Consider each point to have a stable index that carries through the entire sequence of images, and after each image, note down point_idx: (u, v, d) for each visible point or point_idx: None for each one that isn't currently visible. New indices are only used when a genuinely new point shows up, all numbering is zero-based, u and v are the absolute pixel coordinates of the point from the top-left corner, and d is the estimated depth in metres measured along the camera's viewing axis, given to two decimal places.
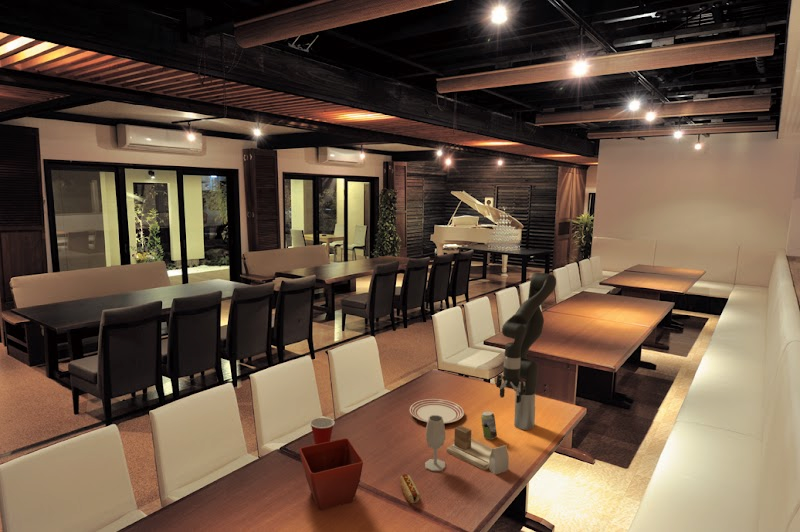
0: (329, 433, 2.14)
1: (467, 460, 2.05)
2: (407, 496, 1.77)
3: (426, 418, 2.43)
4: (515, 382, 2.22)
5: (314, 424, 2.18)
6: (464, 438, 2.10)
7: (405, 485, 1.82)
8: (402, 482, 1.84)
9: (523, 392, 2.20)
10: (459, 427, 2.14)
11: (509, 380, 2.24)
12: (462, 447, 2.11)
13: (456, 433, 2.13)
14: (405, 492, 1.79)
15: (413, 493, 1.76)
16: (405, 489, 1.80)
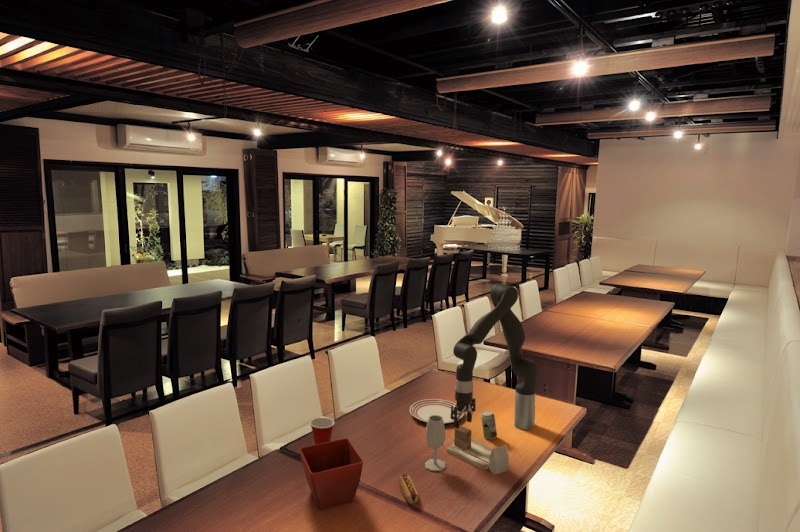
0: (329, 433, 2.14)
1: (467, 460, 2.05)
2: (406, 496, 1.77)
3: (426, 418, 2.43)
4: (469, 402, 2.12)
5: (314, 424, 2.18)
6: (464, 438, 2.10)
7: (404, 485, 1.82)
8: (401, 482, 1.84)
9: (473, 408, 2.16)
10: (459, 427, 2.14)
11: (465, 404, 2.10)
12: (462, 447, 2.11)
13: (456, 433, 2.13)
14: (404, 492, 1.79)
15: (412, 493, 1.76)
16: (404, 489, 1.80)
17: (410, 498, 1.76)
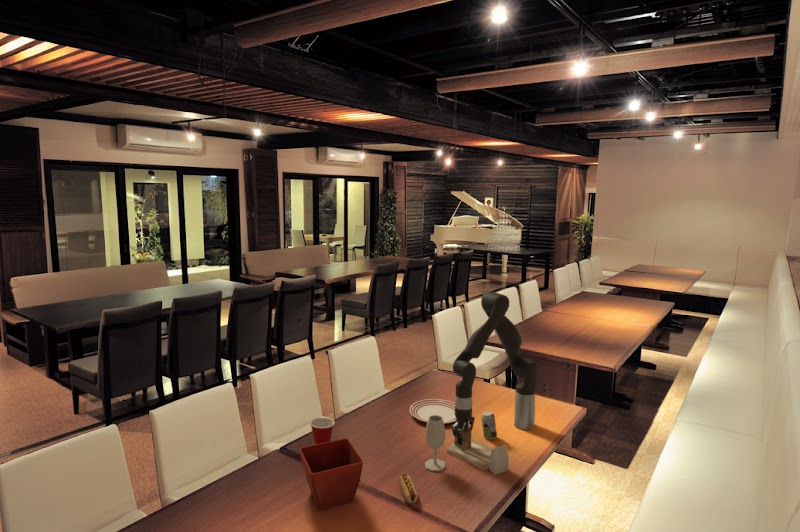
0: (329, 433, 2.14)
1: (467, 460, 2.05)
2: (405, 496, 1.77)
3: (426, 418, 2.43)
4: (469, 418, 2.13)
5: (314, 424, 2.18)
6: (464, 438, 2.10)
7: (404, 485, 1.82)
8: (401, 482, 1.84)
9: (470, 427, 2.16)
10: None
11: (464, 421, 2.11)
12: (462, 447, 2.11)
13: None
14: (403, 492, 1.79)
15: (411, 493, 1.76)
16: (403, 489, 1.80)
17: (409, 498, 1.76)
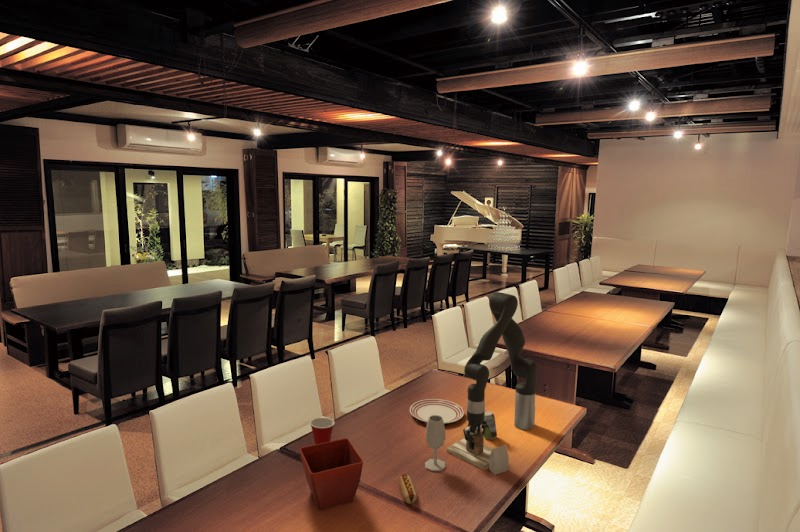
0: (329, 433, 2.14)
1: (467, 460, 2.05)
2: (404, 496, 1.77)
3: (426, 418, 2.43)
4: (481, 422, 2.09)
5: (314, 424, 2.18)
6: (476, 442, 2.05)
7: (403, 485, 1.82)
8: (401, 482, 1.85)
9: (482, 431, 2.11)
10: None
11: (477, 425, 2.07)
12: (474, 451, 2.07)
13: None
14: (402, 492, 1.79)
15: (410, 493, 1.76)
16: (403, 489, 1.80)
17: (408, 498, 1.76)
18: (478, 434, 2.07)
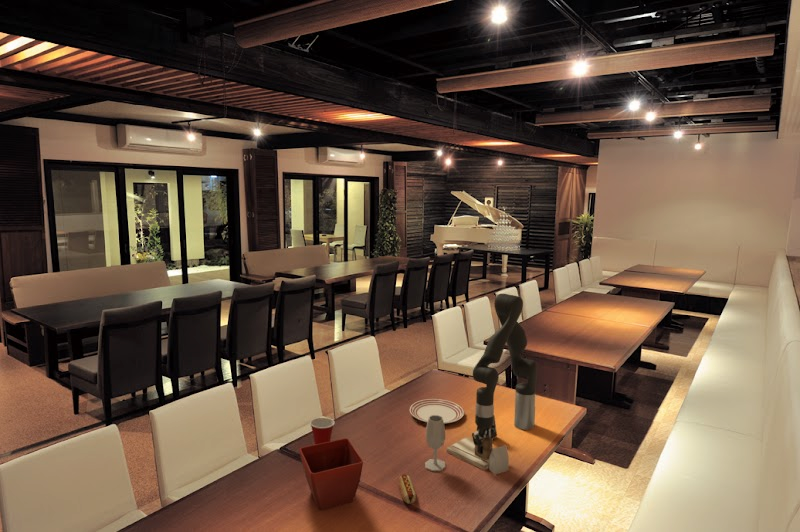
0: (329, 433, 2.14)
1: (467, 460, 2.05)
2: (403, 496, 1.77)
3: (426, 418, 2.43)
4: (490, 426, 2.06)
5: (314, 424, 2.18)
6: (485, 447, 2.02)
7: (402, 485, 1.82)
8: (400, 482, 1.85)
9: None
10: None
11: (486, 429, 2.03)
12: (483, 456, 2.03)
13: None
14: (402, 492, 1.79)
15: (409, 493, 1.76)
16: (402, 489, 1.80)
17: (407, 498, 1.76)
18: (487, 438, 2.04)
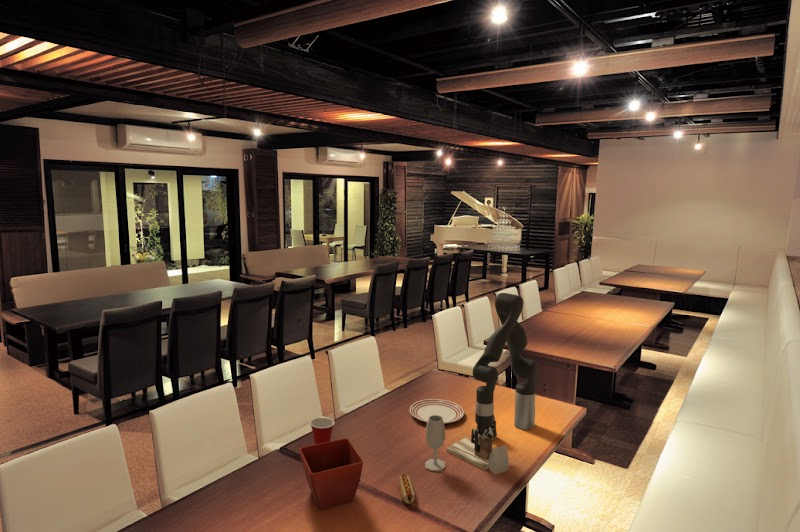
0: (329, 433, 2.14)
1: (467, 460, 2.05)
2: (402, 496, 1.77)
3: (426, 418, 2.43)
4: (490, 425, 2.06)
5: (314, 424, 2.18)
6: (485, 447, 2.02)
7: (402, 485, 1.82)
8: (400, 482, 1.85)
9: (493, 430, 2.09)
10: None
11: (486, 427, 2.03)
12: (483, 456, 2.03)
13: None
14: (401, 492, 1.79)
15: (408, 493, 1.76)
16: (401, 489, 1.80)
17: (406, 498, 1.76)
18: (487, 439, 2.04)
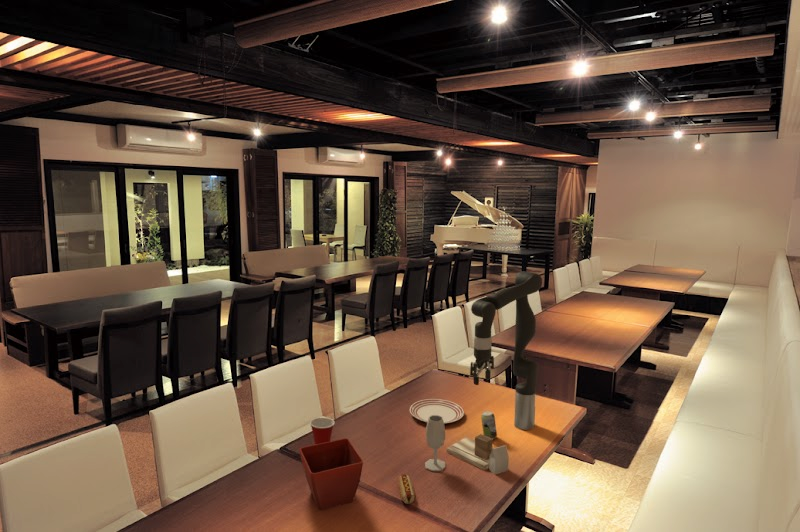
0: (329, 433, 2.14)
1: (467, 460, 2.05)
2: (401, 496, 1.77)
3: (426, 418, 2.43)
4: (488, 360, 2.15)
5: (314, 424, 2.18)
6: (485, 447, 2.02)
7: (401, 485, 1.82)
8: (400, 482, 1.85)
9: None
10: (479, 436, 2.06)
11: (484, 361, 2.13)
12: (483, 456, 2.03)
13: (476, 442, 2.05)
14: (400, 492, 1.80)
15: (407, 493, 1.76)
16: (401, 489, 1.80)
17: (405, 498, 1.76)
18: (487, 439, 2.04)
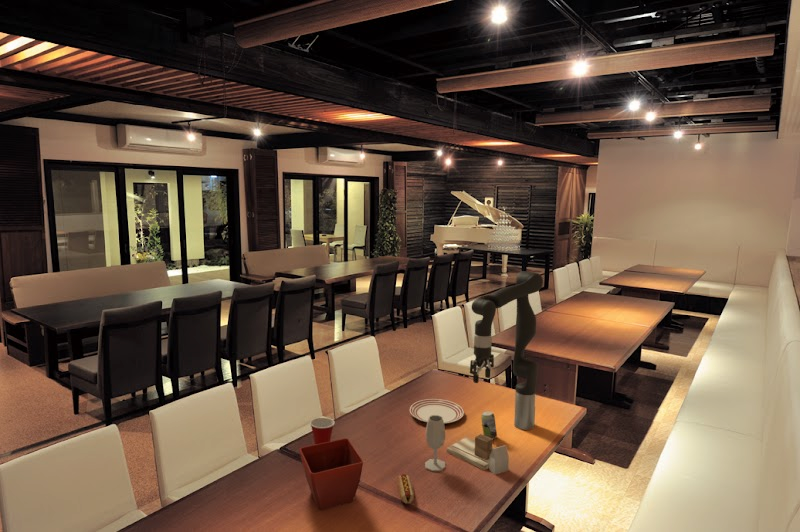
0: (329, 433, 2.14)
1: (467, 460, 2.05)
2: (401, 496, 1.77)
3: (426, 418, 2.43)
4: (488, 358, 2.15)
5: (314, 424, 2.18)
6: (485, 447, 2.02)
7: (401, 485, 1.82)
8: (399, 482, 1.85)
9: None
10: (479, 436, 2.06)
11: (484, 360, 2.13)
12: (483, 456, 2.03)
13: (476, 442, 2.05)
14: (400, 492, 1.80)
15: (406, 493, 1.76)
16: (400, 489, 1.80)
17: (404, 498, 1.76)
18: (487, 439, 2.04)
